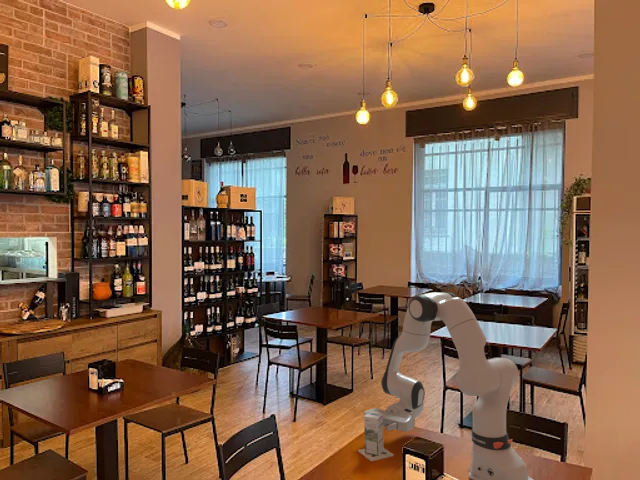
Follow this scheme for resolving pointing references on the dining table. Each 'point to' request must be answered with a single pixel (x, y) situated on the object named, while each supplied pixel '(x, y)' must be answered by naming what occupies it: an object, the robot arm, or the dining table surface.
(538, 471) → the dining table surface
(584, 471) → the dining table surface
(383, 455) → the letter card
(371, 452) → the syrup box
